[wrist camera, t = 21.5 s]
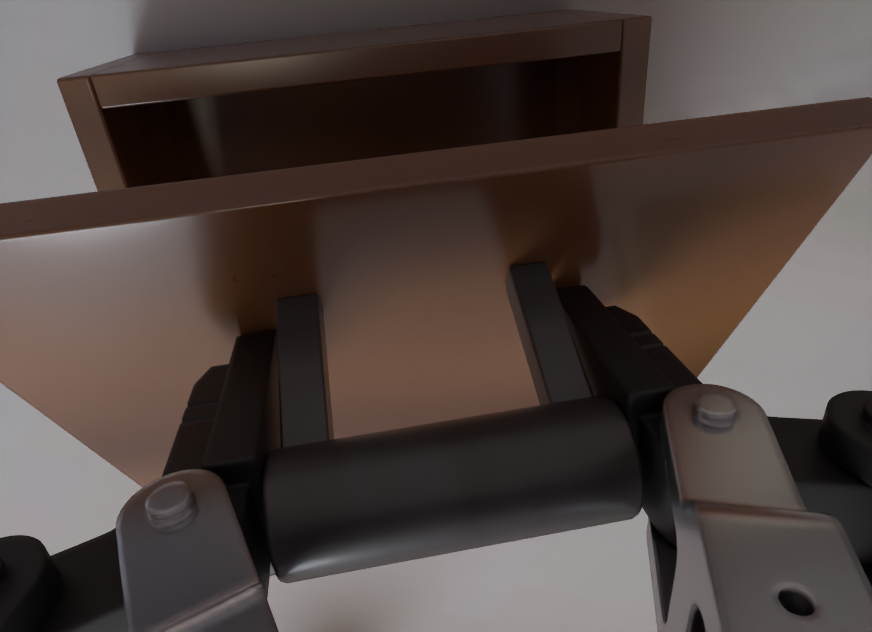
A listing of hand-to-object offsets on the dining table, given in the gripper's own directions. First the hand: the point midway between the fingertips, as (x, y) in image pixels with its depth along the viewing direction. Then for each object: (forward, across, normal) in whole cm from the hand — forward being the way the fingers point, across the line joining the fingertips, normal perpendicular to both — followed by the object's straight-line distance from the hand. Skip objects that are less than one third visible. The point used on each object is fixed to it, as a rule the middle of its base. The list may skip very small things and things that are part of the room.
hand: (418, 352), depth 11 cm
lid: (+3, 0, +3) cm, 4 cm away
